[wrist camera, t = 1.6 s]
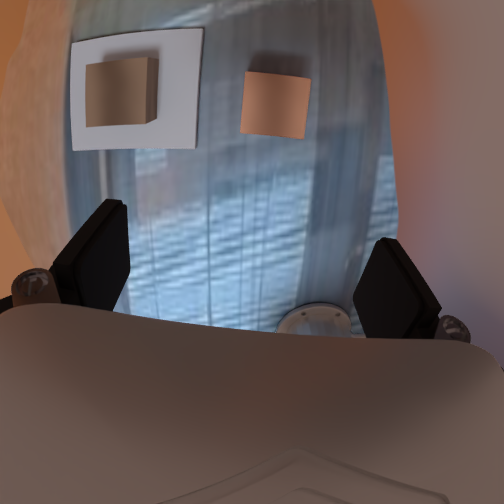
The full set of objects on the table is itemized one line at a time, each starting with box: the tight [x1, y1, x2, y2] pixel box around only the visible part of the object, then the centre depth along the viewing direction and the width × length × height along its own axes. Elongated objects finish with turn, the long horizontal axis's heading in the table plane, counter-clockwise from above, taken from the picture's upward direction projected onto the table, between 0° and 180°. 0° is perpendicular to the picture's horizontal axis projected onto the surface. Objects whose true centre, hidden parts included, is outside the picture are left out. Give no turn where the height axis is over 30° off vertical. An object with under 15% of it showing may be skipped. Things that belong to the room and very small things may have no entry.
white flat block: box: [70, 29, 204, 151], centre depth 27 cm, size 16×14×5 cm
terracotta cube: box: [240, 71, 311, 139], centre depth 28 cm, size 6×6×6 cm
